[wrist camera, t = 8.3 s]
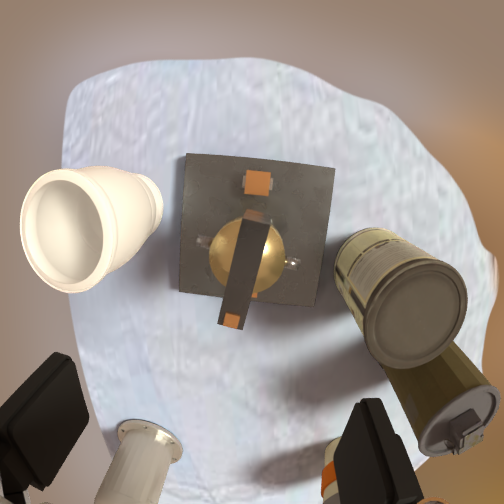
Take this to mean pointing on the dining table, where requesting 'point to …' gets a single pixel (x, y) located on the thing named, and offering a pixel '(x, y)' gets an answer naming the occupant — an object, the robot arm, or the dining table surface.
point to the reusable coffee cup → (330, 476)
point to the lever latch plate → (262, 200)
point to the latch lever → (245, 262)
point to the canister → (445, 402)
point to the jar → (87, 223)
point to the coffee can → (400, 297)
